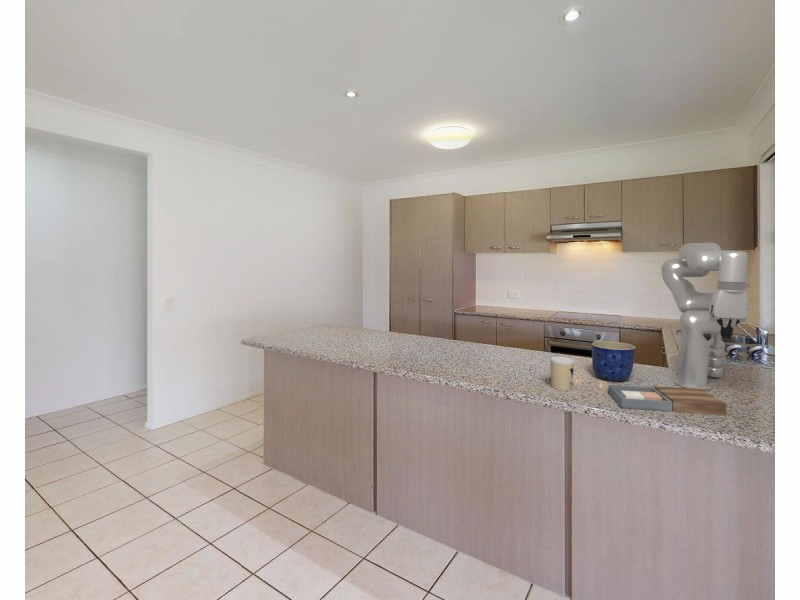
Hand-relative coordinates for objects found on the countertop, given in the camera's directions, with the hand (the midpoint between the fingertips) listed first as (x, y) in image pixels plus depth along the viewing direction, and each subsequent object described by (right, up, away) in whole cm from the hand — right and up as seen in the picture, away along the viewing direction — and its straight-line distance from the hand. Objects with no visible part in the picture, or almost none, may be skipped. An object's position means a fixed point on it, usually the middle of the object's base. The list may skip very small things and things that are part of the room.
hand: (726, 337), depth 143 cm
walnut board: (-12, -25, +2) cm, 28 cm away
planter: (-23, -22, +35) cm, 47 cm away
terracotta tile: (-24, -24, +5) cm, 34 cm away
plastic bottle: (+24, -21, +36) cm, 48 cm away
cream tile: (-30, -21, +6) cm, 37 cm away
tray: (-28, -25, +6) cm, 38 cm away
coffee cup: (-50, -23, +23) cm, 59 cm away
